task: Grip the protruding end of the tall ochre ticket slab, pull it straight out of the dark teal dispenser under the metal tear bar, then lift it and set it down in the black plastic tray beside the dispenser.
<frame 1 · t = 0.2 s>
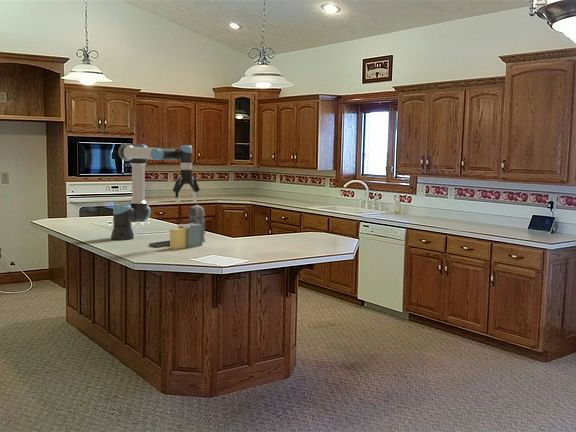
hand: (186, 202, 392), 28 cm above the countertop, fingers open, 13 cm apart
dispenser: (190, 245, 389), on the countertop
tray: (164, 245, 389), on the countertop
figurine: (197, 241, 409), on the countertop
ticket: (181, 247, 383), on the countertop
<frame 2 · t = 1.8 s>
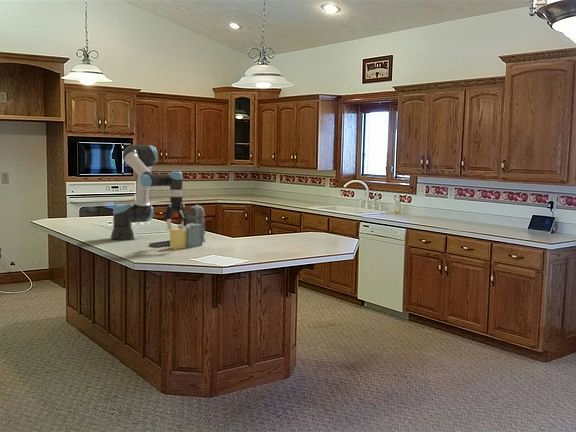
hand: (176, 230, 378), 11 cm above the countertop, fingers open, 13 cm apart
nothing on the countertop moved.
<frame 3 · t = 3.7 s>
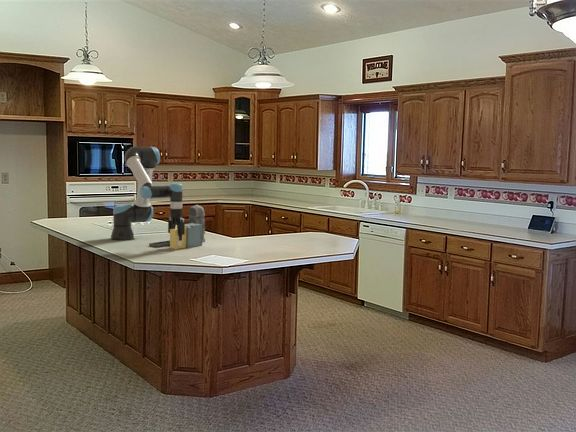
hand: (176, 245, 380), 2 cm above the countertop, fingers closed on ticket, 5 cm apart
ticket: (181, 247, 383), on the countertop, touching gripper
everything else where it was.
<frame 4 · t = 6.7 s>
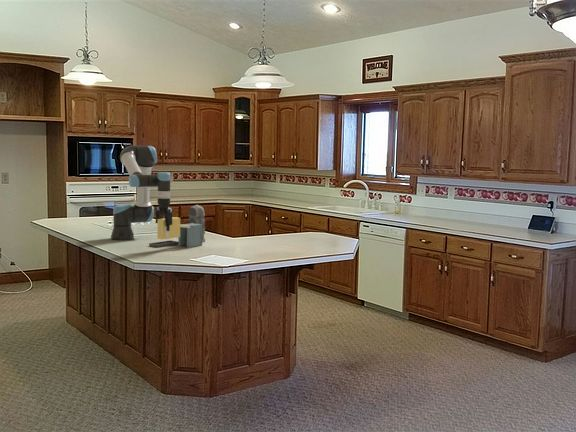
hand: (163, 235, 371), 9 cm above the countertop, fingers closed on ticket, 5 cm apart
ticket: (168, 237, 375), point 7 cm above the countertop, touching gripper
everything else where it was.
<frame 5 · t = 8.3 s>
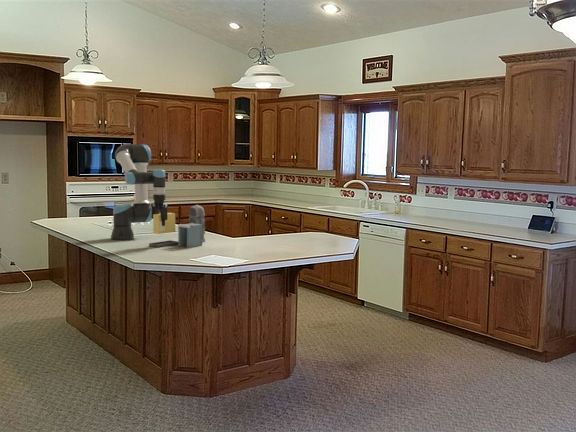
hand: (159, 230, 385), 10 cm above the countertop, fingers closed on ticket, 5 cm apart
ticket: (164, 232, 388), point 8 cm above the countertop, touching gripper
everything else where it was.
when the fingers open (4 cm above the countertop, at t = 9.7 s): ticket drops 2 cm, resting on tray.
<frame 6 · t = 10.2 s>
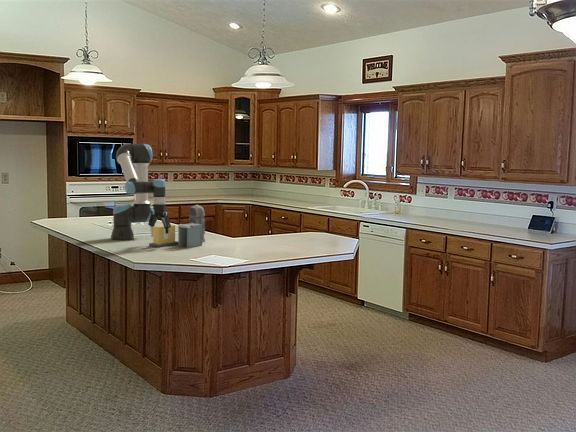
hand: (159, 237, 386), 5 cm above the countertop, fingers open, 11 cm apart
ticket: (164, 244, 389), point 1 cm above the countertop, touching tray
everything else where it was.
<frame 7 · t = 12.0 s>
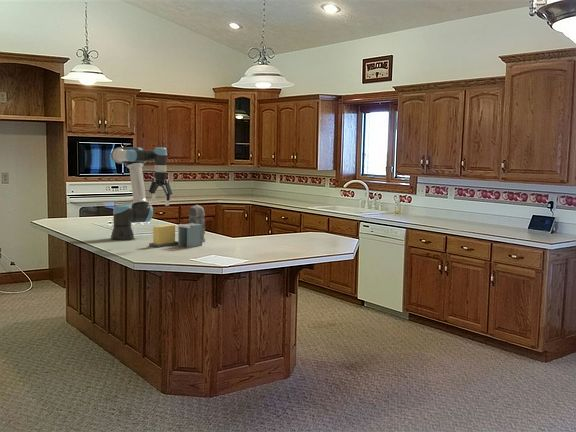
hand: (160, 204, 391), 26 cm above the countertop, fingers open, 13 cm apart
nothing on the countertop moved.
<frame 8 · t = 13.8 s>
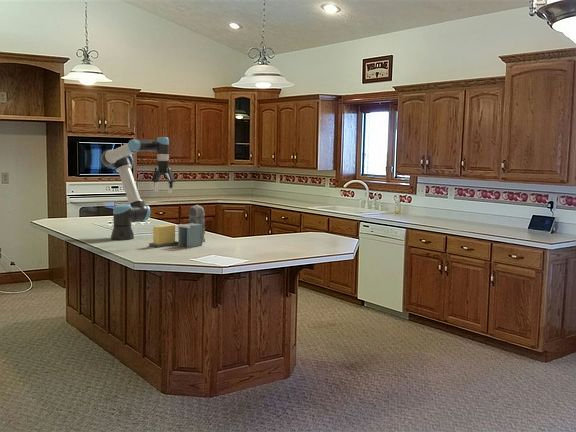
hand: (163, 192, 404), 33 cm above the countertop, fingers open, 13 cm apart
nothing on the countertop moved.
at the end: ticket inside the target area on the tray (0.0 cm from its centre), point 0.6 cm above the tray's base; ticket touching tray; the gripper is holding nothing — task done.
